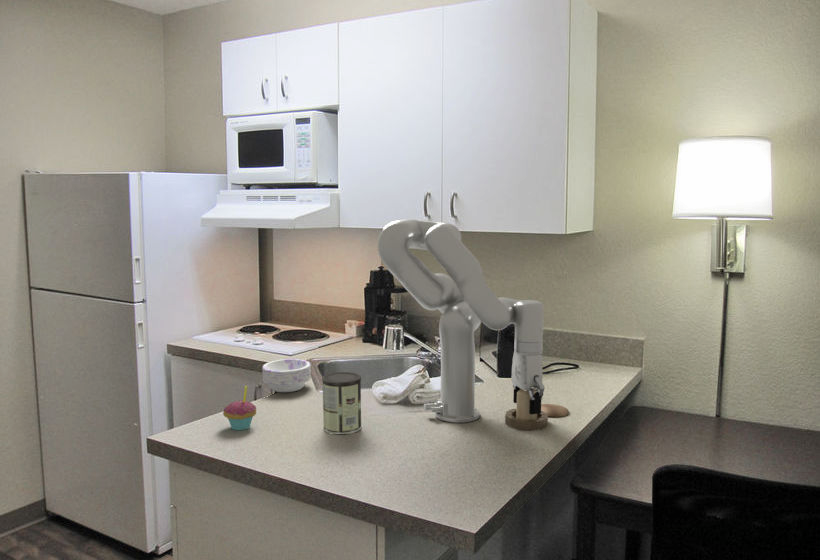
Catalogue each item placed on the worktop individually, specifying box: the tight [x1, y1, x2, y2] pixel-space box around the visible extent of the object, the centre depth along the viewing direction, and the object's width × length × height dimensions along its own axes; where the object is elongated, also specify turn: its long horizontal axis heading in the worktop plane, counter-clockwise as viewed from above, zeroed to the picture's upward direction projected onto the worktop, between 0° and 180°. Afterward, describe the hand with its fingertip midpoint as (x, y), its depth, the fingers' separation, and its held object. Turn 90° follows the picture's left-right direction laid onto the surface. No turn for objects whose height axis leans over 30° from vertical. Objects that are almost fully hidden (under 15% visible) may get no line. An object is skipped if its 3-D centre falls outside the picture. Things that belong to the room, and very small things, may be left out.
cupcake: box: [222, 383, 257, 431], centre depth 180 cm, size 9×8×12 cm
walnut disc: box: [541, 403, 569, 418], centre depth 194 cm, size 10×10×1 cm
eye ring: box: [504, 408, 549, 432], centre depth 184 cm, size 11×11×2 cm
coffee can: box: [321, 371, 362, 435], centre depth 179 cm, size 10×10×14 cm
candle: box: [516, 389, 537, 420], centre depth 184 cm, size 6×6×10 cm
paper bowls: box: [261, 358, 312, 393], centre depth 215 cm, size 15×15×8 cm
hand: (526, 408), depth 184 cm, fingers open, 9 cm apart
